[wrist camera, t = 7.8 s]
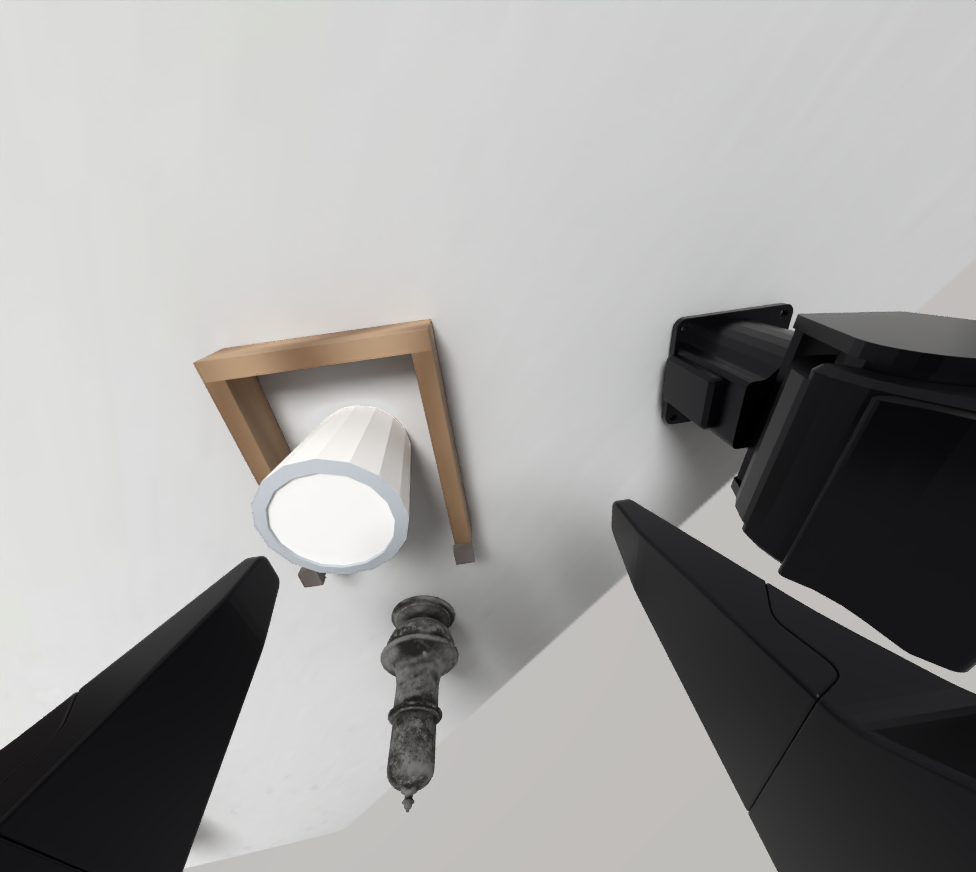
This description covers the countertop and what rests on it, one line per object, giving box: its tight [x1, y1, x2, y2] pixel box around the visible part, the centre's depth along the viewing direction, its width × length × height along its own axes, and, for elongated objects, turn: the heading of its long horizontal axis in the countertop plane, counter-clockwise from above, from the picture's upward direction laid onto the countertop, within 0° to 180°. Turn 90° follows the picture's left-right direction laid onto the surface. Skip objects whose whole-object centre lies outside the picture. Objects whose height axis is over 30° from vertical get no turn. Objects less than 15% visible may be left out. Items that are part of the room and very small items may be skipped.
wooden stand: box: [193, 319, 475, 588], centre depth 21 cm, size 11×15×3 cm
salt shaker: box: [381, 596, 459, 812], centre depth 26 cm, size 6×6×12 cm
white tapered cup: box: [251, 405, 411, 574], centre depth 19 cm, size 7×7×7 cm
